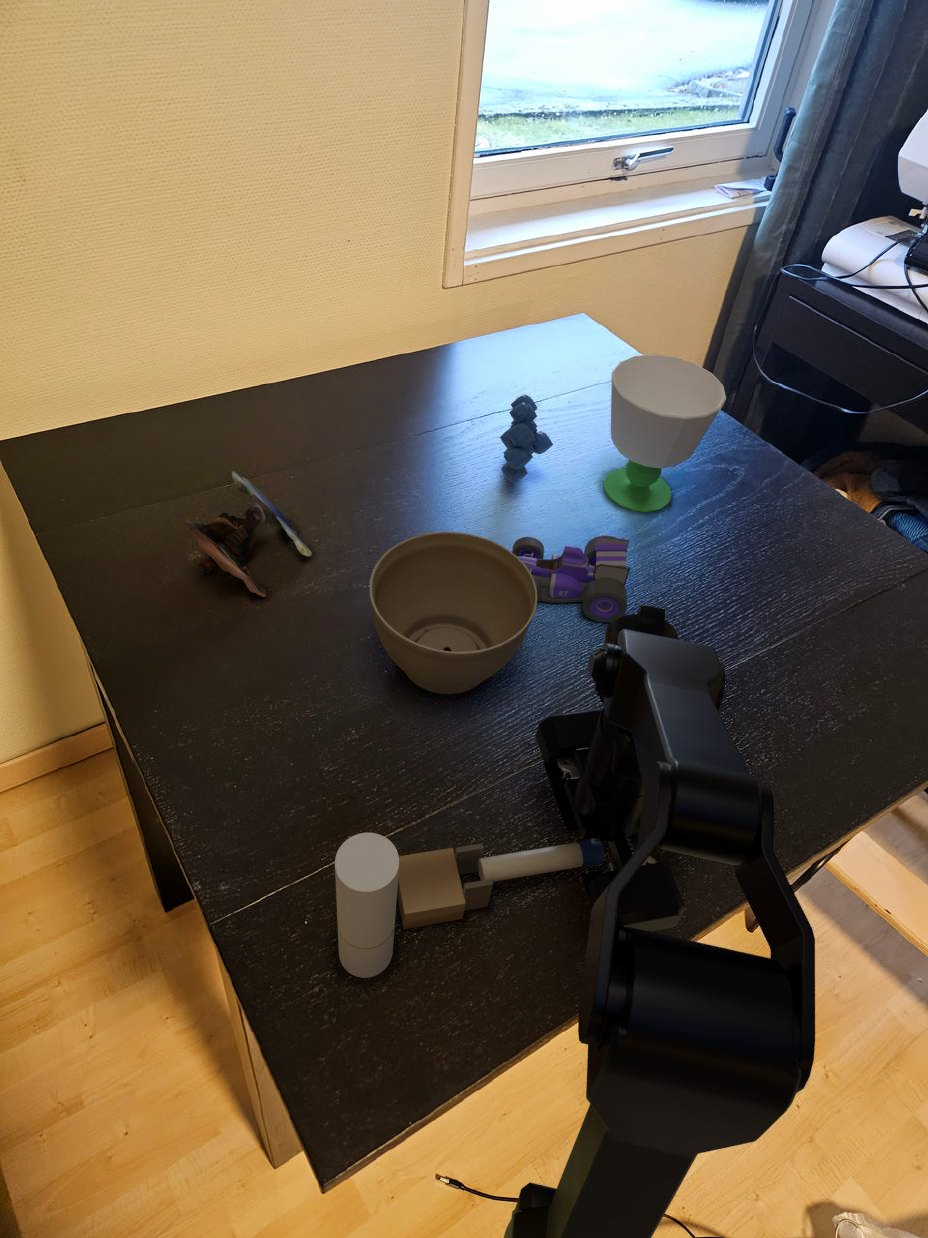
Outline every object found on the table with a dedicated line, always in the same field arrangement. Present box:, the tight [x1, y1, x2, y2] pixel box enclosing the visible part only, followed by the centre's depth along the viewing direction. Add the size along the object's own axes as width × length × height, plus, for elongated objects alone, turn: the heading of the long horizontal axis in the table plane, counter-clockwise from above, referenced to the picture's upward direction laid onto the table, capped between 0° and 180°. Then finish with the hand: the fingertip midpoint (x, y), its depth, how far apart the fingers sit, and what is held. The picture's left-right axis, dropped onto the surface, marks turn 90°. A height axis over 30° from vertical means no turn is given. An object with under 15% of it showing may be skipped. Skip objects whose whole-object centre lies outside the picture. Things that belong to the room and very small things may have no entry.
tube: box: [334, 832, 400, 979], centre depth 63 cm, size 4×4×15 cm
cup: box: [603, 353, 727, 513], centre depth 107 cm, size 14×14×16 cm
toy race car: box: [511, 535, 631, 624], centre depth 96 cm, size 10×15×6 cm, turn 83°
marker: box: [478, 838, 605, 883], centre depth 72 cm, size 2×10×2 cm, turn 103°
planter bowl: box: [368, 531, 538, 695], centre depth 86 cm, size 16×16×11 cm
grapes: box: [499, 394, 554, 484], centre depth 107 cm, size 12×7×12 cm, turn 174°
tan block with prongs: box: [397, 842, 494, 930], centre depth 71 cm, size 5×7×4 cm
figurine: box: [184, 471, 313, 598], centre depth 95 cm, size 15×9×13 cm
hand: (584, 863), depth 74 cm, fingers open, 6 cm apart
